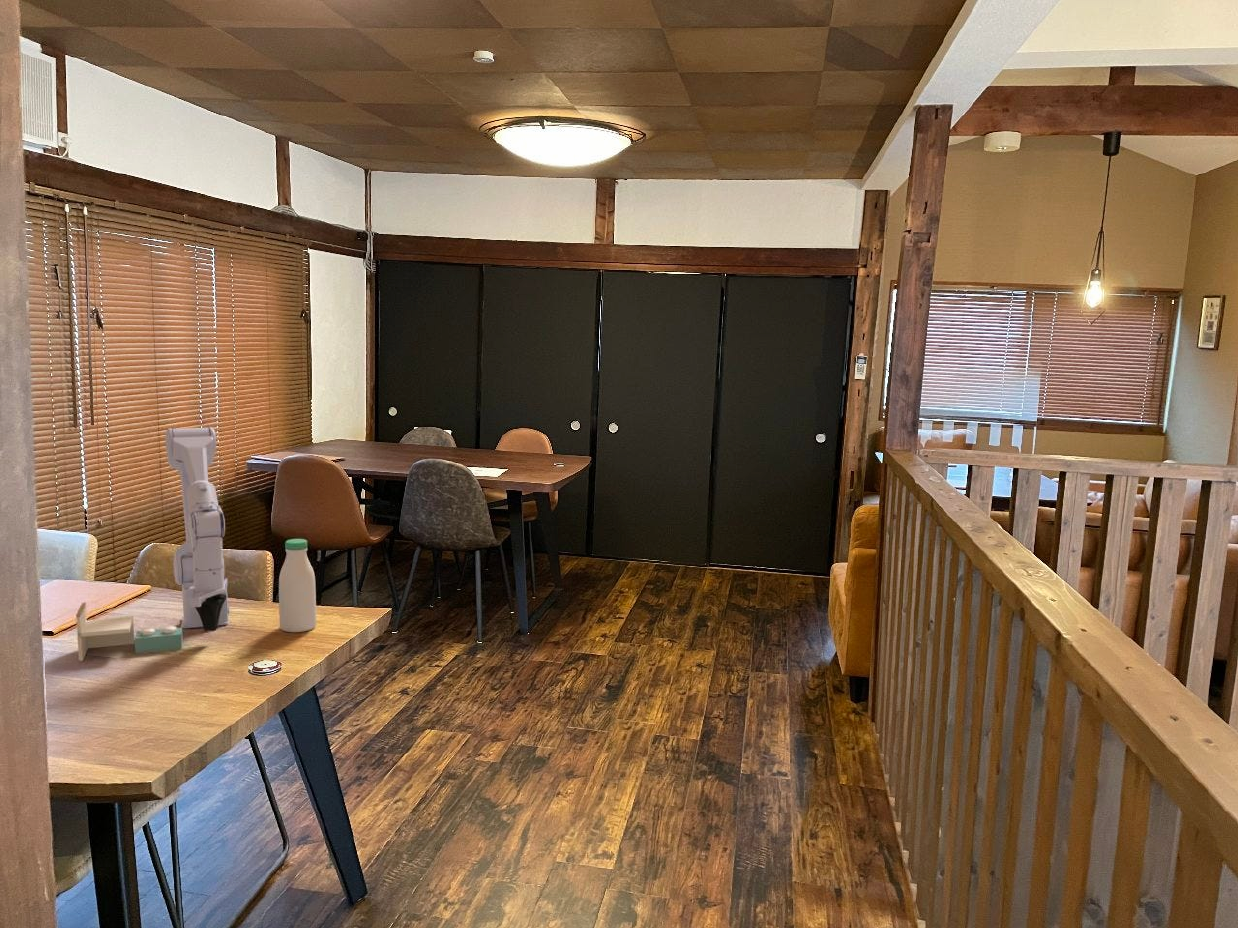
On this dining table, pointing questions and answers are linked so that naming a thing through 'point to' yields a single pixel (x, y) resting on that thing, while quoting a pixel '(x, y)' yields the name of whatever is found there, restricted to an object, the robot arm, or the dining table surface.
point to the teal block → (158, 639)
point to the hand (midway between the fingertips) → (210, 629)
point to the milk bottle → (297, 589)
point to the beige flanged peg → (102, 632)
